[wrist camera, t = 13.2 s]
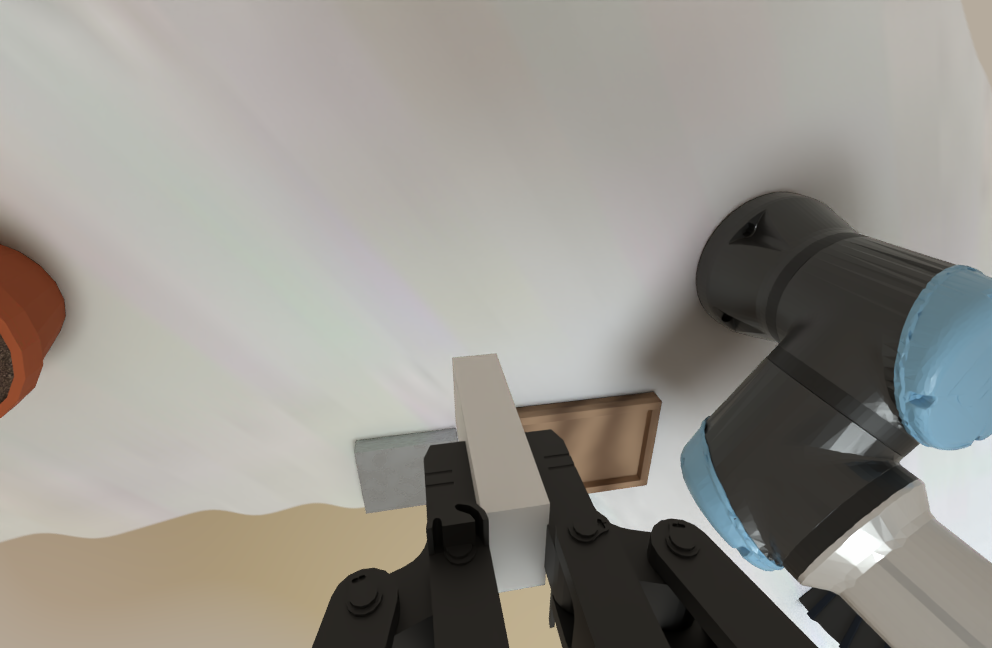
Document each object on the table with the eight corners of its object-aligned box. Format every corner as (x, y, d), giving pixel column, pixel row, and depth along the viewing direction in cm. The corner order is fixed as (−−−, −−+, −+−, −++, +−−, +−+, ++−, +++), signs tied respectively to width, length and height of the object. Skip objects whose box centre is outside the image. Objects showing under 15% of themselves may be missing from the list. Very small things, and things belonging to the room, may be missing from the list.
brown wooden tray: (653, 391, 57) (661, 401, 55) (639, 473, 63) (646, 485, 61) (461, 413, 53) (464, 425, 51) (465, 498, 59) (467, 511, 57)
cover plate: (455, 425, 54) (457, 439, 52) (459, 483, 58) (461, 499, 56) (356, 437, 53) (354, 453, 51) (367, 496, 57) (366, 513, 55)
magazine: (789, 618, 83) (889, 683, 70) (817, 547, 85) (919, 597, 72) (800, 623, 85) (900, 688, 71) (827, 553, 87) (929, 603, 73)
